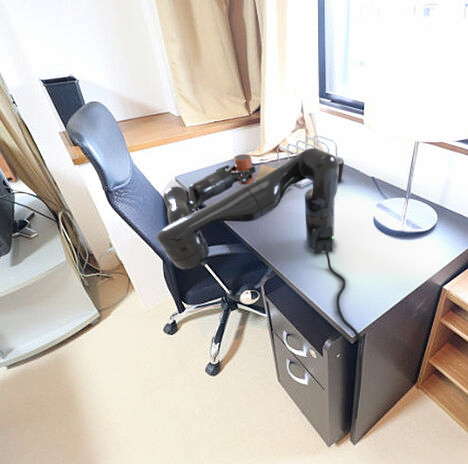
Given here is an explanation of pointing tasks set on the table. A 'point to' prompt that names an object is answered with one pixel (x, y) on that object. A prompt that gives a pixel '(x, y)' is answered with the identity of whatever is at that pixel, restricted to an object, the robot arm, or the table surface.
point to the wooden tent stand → (264, 171)
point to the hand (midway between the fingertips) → (247, 167)
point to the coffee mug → (340, 167)
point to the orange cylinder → (243, 165)
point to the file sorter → (305, 181)
